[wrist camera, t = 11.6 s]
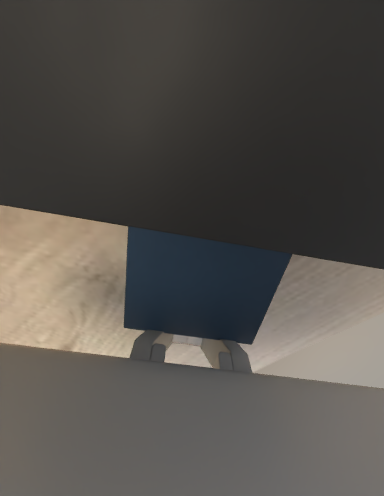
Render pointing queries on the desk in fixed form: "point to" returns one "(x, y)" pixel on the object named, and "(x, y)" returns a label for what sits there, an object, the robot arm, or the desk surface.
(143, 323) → the box
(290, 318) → the desk surface
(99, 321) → the desk surface
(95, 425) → the robot arm
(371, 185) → the cabinet
